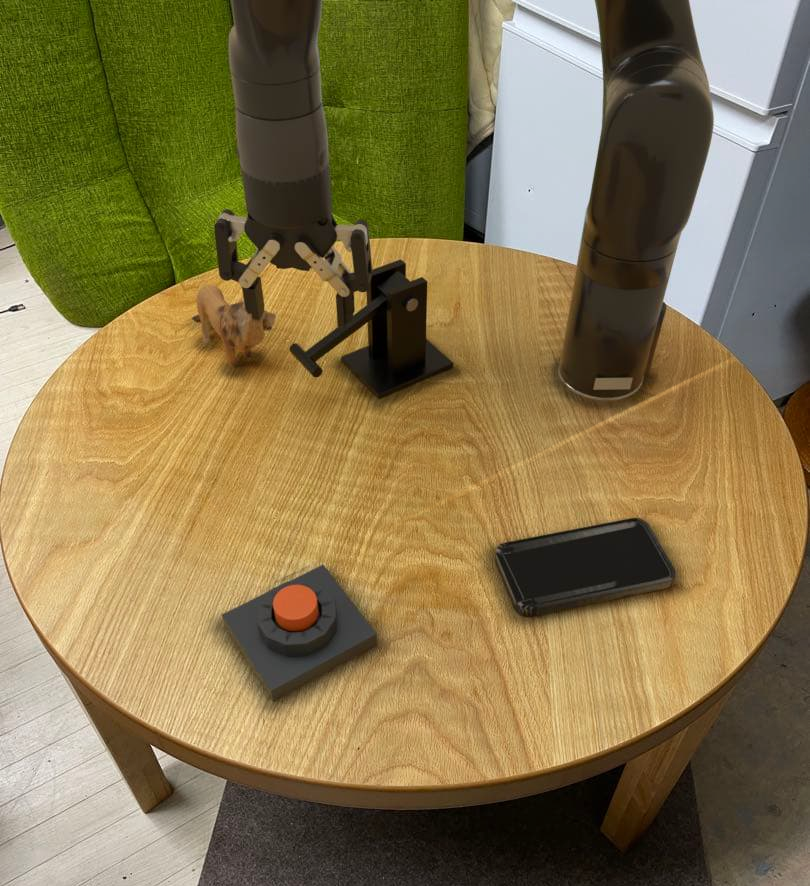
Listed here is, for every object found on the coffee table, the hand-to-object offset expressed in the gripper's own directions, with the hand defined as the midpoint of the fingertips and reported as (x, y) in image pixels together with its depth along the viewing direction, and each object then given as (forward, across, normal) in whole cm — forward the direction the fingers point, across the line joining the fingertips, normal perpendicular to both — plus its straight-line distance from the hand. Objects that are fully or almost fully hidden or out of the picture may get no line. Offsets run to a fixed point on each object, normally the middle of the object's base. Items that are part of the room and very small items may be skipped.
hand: (300, 319), depth 86 cm
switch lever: (+4, -5, -5) cm, 8 cm away
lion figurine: (+11, +11, -8) cm, 18 cm away
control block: (+11, -6, +30) cm, 32 cm away
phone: (+11, -30, +19) cm, 37 cm away
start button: (+8, -6, +30) cm, 31 cm away
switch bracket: (+11, -8, -8) cm, 16 cm away
